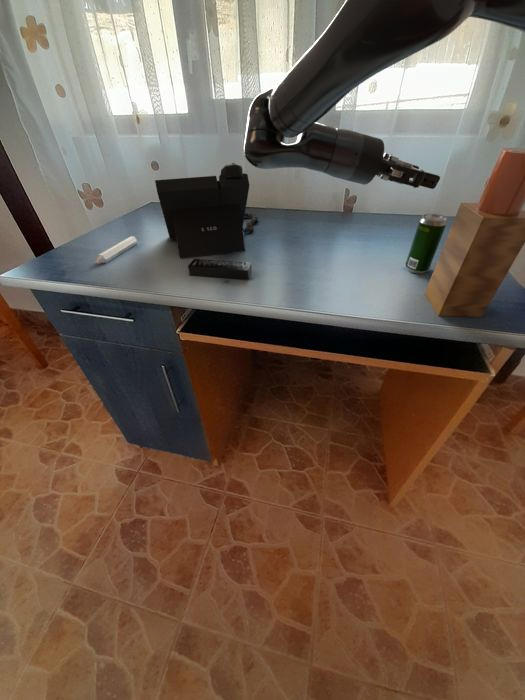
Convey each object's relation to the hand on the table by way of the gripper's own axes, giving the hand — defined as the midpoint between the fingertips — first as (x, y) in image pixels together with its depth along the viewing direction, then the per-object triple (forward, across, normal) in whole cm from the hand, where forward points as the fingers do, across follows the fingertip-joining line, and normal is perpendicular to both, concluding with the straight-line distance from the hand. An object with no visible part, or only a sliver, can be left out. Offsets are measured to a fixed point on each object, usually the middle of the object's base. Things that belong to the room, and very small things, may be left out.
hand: (425, 177), depth 59 cm
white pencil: (-64, +14, +36) cm, 75 cm away
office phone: (-38, +27, +30) cm, 55 cm away
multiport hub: (-37, +1, +29) cm, 47 cm away
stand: (+9, -16, +18) cm, 26 cm away
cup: (+5, -16, 0) cm, 17 cm away
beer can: (+9, 0, +18) cm, 20 cm away
